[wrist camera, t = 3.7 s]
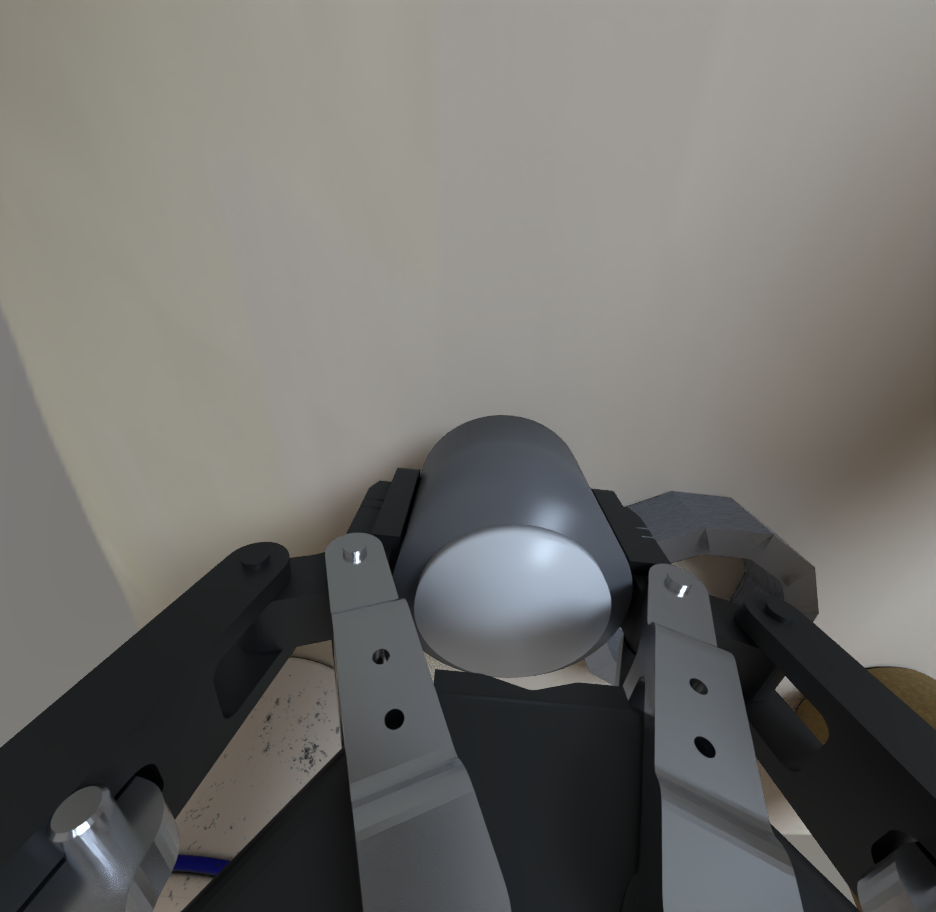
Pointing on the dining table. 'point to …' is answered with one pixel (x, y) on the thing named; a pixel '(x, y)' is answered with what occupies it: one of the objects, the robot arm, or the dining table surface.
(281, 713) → the teacup with lid
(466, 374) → the dining table surface
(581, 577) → the cap
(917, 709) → the plant pot
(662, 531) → the faceted grey ring
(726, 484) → the dining table surface
